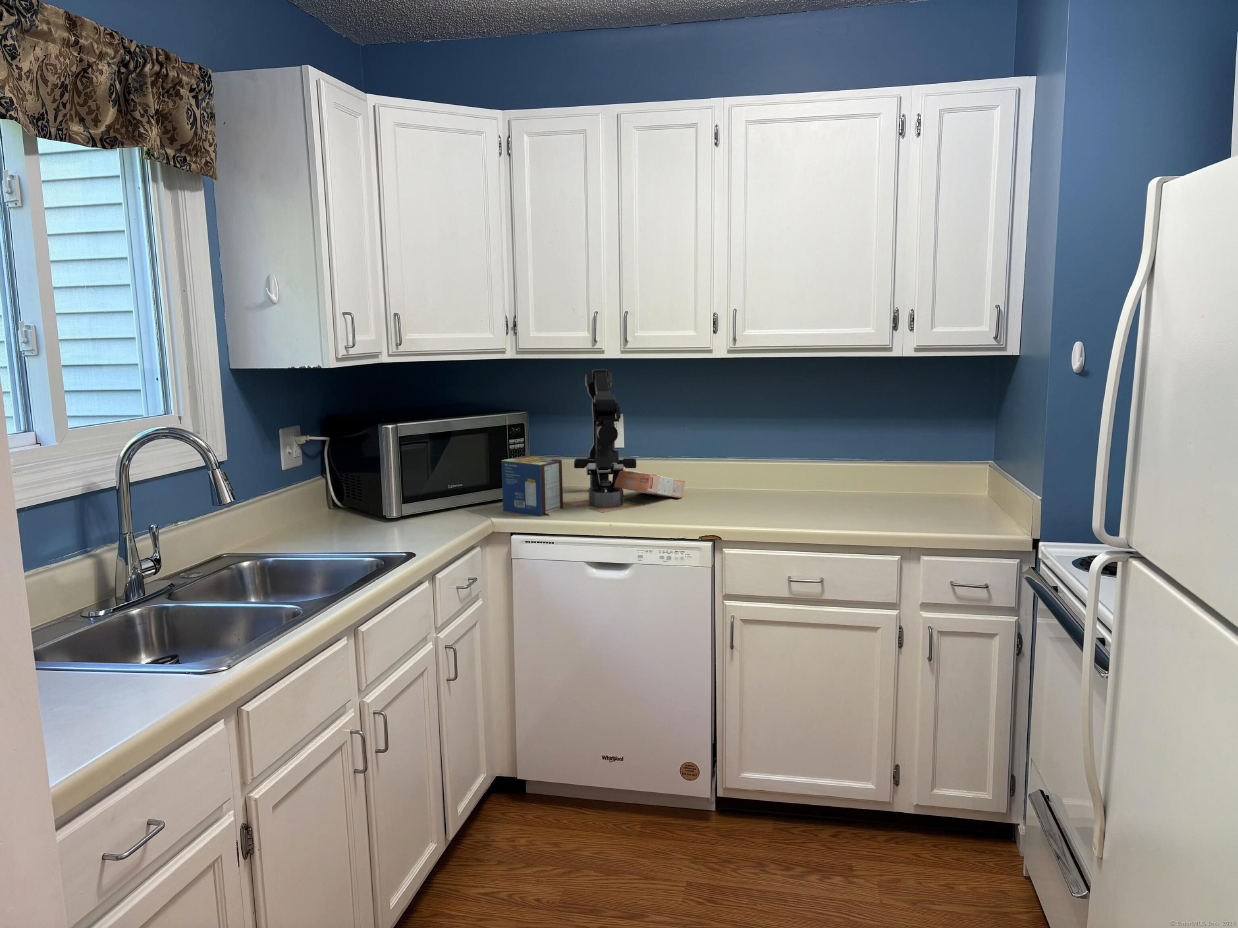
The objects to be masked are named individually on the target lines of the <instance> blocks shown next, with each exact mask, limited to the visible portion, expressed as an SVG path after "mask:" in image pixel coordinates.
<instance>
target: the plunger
mask: <svg viewBox="0 0 1238 928" xmlns="http://www.w3.org/2000/svg"><path fill="white" fill-rule="evenodd" d="M611 487H612V480H610V479H609V480H602V481H600V488H604V492H607V488H611Z"/></svg>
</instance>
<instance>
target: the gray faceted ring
mask: <svg viewBox="0 0 1238 928" xmlns="http://www.w3.org/2000/svg"><path fill="white" fill-rule="evenodd" d="M587 490H588V492H587V493H588V494H587V495H588V496H587V497H588V498H589V506H592V507H597V508H614V507H620V506H622V505H623V500H624V489H622V488H617V487H614V489H613V491H612V487H611V488H607V492H604V488H600V491H599V490H598V487H597V488H594V487H591V488H590V487H589V489H587Z"/></svg>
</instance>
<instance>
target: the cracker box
mask: <svg viewBox="0 0 1238 928" xmlns="http://www.w3.org/2000/svg"><path fill="white" fill-rule="evenodd" d="M685 482H686V481H685V480H681V479H677V478H676V479H675V478H671V477H667V476H661V475H658V474H653V473H649V472H641V471H634V470H627V469H626V470H625V469H623V471H620V472H619V474H618V476H617V479H616V482H615V485H614V487H617V488H622V489H623V490H629V491H633V492H639V493H645V494H650V495H656V496H663V497H671V498H680V499H682V498H683V495H684V487H685Z"/></svg>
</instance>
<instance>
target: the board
mask: <svg viewBox="0 0 1238 928" xmlns="http://www.w3.org/2000/svg"><path fill="white" fill-rule="evenodd" d="M564 503H565V504H567V505H571V506H576V507H579V508H583V509H586V510H591V511H594V512H598V513H603V514H604V513H610V512H616V511H621V510H628V509H633V508H634V509H635V508H640V507H645V504H644V505H643V504H639V503H637V502H631V501H628V500H624V499H623V505H622V506H620V507H614V508H597V507H592V506H589V498H588V496H587V497H582V498H580V497H579V498H574V499H573V498H572V499H567V500H563V504H564Z"/></svg>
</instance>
